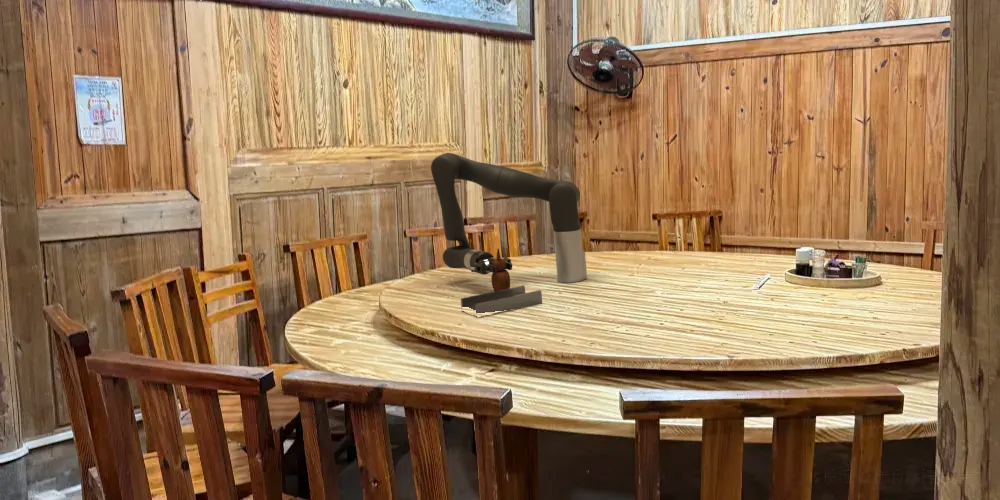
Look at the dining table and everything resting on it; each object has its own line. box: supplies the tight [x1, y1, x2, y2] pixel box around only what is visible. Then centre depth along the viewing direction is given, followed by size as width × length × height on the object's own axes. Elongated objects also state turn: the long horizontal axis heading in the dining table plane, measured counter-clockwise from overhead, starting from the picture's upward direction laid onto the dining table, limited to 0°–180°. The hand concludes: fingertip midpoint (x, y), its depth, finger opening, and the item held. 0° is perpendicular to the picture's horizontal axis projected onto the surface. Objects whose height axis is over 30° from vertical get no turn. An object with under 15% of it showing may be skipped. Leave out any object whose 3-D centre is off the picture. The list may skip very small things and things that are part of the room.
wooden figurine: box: [490, 247, 511, 292], centre depth 268 cm, size 7×6×15 cm
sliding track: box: [460, 285, 543, 313], centre depth 255 cm, size 22×11×4 cm, turn 118°
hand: (503, 268), depth 265 cm, fingers closed on wooden figurine, 4 cm apart
